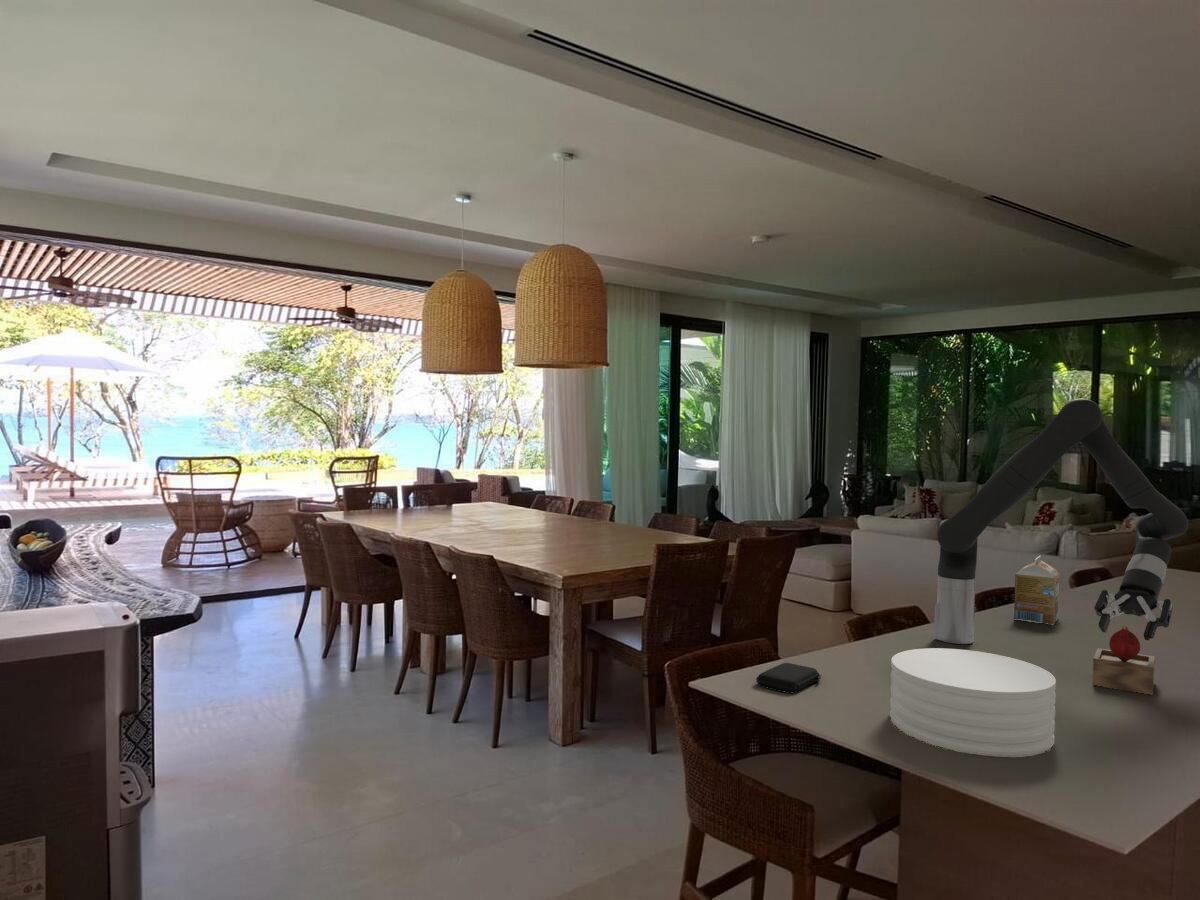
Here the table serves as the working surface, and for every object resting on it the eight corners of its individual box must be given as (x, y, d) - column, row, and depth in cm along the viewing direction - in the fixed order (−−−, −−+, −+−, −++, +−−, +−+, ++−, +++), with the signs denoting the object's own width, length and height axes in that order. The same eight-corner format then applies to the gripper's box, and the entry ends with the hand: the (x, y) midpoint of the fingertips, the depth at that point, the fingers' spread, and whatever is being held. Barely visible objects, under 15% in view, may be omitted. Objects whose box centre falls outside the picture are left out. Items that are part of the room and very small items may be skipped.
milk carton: (1019, 614, 249) (1021, 553, 249) (1058, 619, 243) (1060, 557, 243) (1014, 620, 241) (1015, 557, 240) (1054, 625, 235) (1055, 561, 234)
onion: (1144, 666, 175) (1145, 629, 175) (1115, 664, 177) (1116, 628, 176) (1132, 659, 181) (1133, 624, 181) (1104, 657, 182) (1105, 622, 182)
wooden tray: (1092, 685, 178) (1093, 658, 177) (1096, 673, 186) (1097, 648, 186) (1152, 695, 171) (1153, 667, 171) (1153, 682, 180) (1154, 656, 180)
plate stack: (976, 768, 132) (978, 700, 132) (858, 713, 158) (860, 655, 157) (1090, 745, 143) (1092, 681, 143) (962, 697, 169) (964, 643, 168)
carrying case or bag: (798, 698, 166) (827, 682, 178) (798, 684, 166) (827, 668, 178) (752, 687, 173) (783, 672, 185) (752, 673, 173) (783, 659, 185)
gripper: (1105, 563, 189) (1084, 618, 182) (1176, 572, 178) (1157, 630, 171) (1113, 583, 193) (1093, 637, 186) (1183, 593, 181) (1165, 651, 174)
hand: (1124, 634), depth 178 cm, fingers open, 8 cm apart
